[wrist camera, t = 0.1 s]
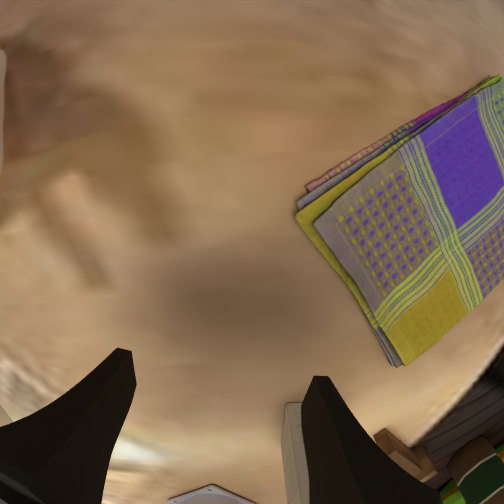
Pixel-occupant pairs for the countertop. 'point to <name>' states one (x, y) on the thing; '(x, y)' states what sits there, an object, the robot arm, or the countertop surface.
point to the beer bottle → (478, 472)
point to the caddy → (406, 456)
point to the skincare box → (294, 456)
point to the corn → (451, 493)
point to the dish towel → (418, 220)
